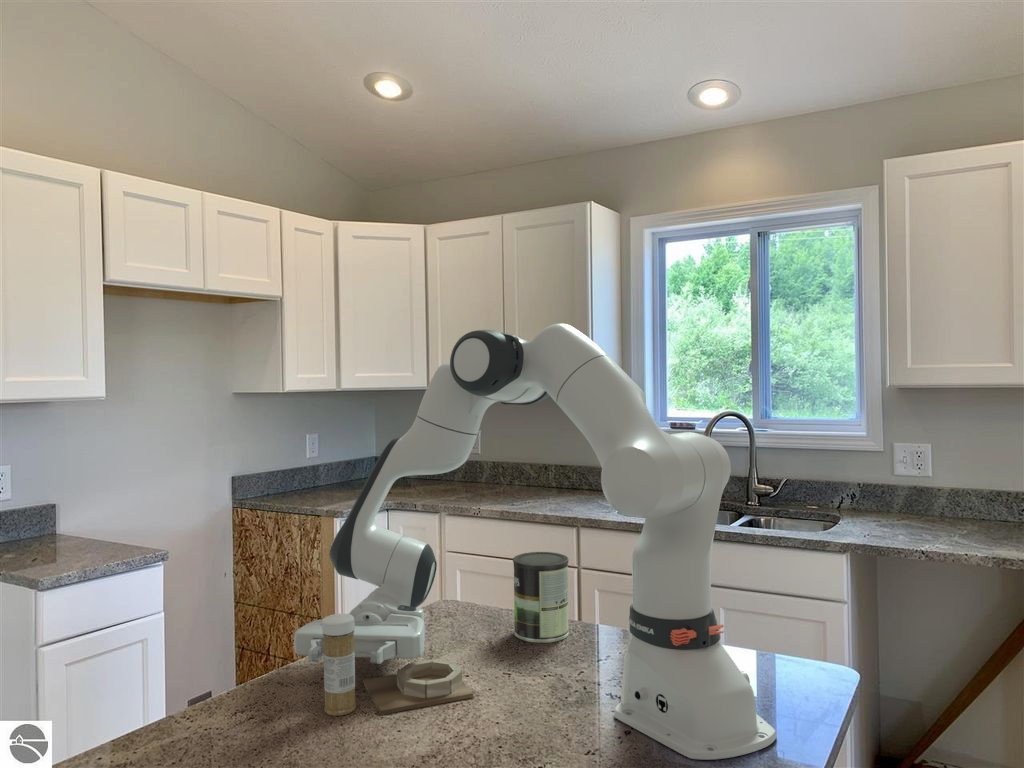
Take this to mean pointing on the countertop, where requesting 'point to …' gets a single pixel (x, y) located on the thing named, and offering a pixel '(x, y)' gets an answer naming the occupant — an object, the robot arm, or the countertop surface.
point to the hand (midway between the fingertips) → (343, 657)
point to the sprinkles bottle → (339, 664)
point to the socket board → (407, 702)
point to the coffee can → (541, 597)
